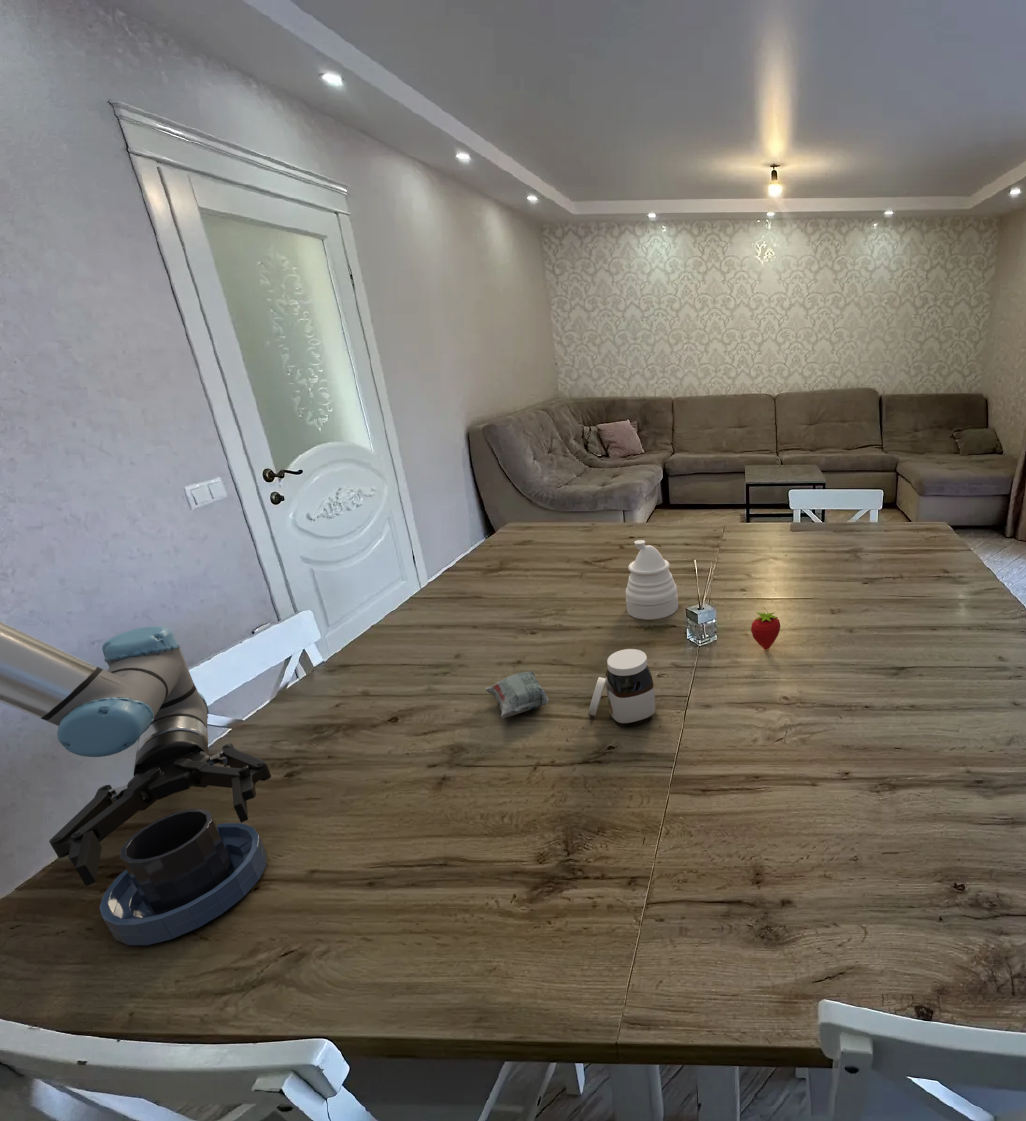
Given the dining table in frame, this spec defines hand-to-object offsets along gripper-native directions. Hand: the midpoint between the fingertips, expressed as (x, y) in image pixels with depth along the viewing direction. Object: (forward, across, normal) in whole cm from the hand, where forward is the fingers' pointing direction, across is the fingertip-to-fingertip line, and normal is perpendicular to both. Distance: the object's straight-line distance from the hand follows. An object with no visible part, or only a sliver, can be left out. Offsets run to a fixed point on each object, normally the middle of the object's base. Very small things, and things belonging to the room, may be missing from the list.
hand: (167, 842), depth 70 cm
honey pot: (-30, -87, -9) cm, 93 cm away
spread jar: (+3, -58, -9) cm, 59 cm away
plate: (0, 0, -9) cm, 9 cm away
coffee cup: (0, 0, -8) cm, 8 cm away
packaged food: (-12, -46, -9) cm, 48 cm away
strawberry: (+4, -94, -9) cm, 94 cm away
